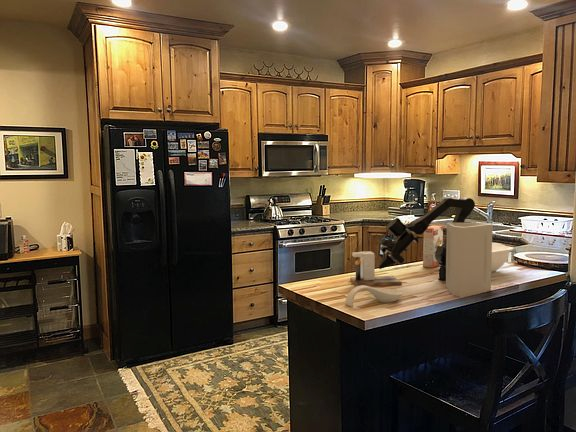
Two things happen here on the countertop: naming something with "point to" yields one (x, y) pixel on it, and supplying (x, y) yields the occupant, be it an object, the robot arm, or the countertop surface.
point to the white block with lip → (366, 264)
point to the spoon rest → (375, 294)
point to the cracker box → (431, 245)
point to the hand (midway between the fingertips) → (379, 268)
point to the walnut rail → (377, 281)
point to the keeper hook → (358, 269)
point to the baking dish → (499, 255)
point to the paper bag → (468, 258)
